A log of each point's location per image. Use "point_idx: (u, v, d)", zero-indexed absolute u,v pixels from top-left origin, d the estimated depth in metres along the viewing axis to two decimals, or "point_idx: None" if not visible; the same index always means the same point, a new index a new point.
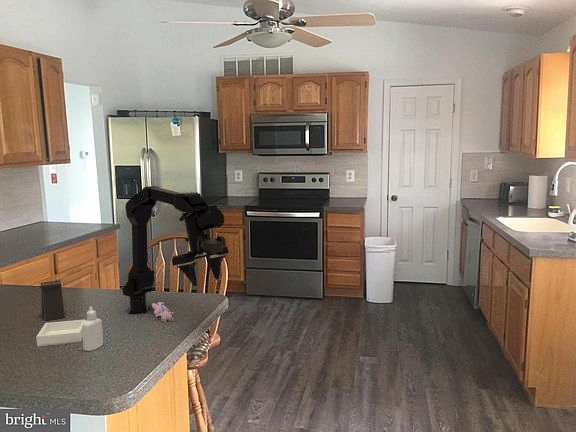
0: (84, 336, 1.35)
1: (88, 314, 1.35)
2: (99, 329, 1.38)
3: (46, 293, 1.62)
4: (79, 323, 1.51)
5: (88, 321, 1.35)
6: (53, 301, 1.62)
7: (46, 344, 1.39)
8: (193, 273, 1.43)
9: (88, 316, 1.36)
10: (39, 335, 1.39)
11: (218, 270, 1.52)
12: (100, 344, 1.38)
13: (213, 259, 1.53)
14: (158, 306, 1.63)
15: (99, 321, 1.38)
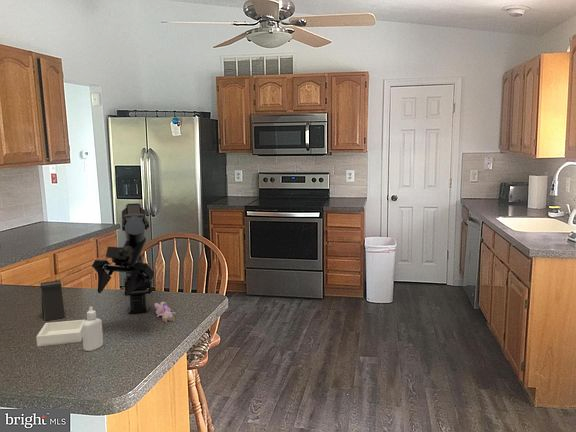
0: (84, 336, 1.35)
1: (88, 314, 1.35)
2: (99, 329, 1.38)
3: (46, 293, 1.62)
4: (79, 323, 1.51)
5: (88, 321, 1.35)
6: (53, 301, 1.62)
7: (46, 344, 1.39)
8: (99, 279, 1.46)
9: (88, 316, 1.36)
10: (39, 335, 1.39)
11: (128, 285, 1.43)
12: (100, 344, 1.38)
13: None
14: (160, 306, 1.64)
15: (99, 321, 1.38)
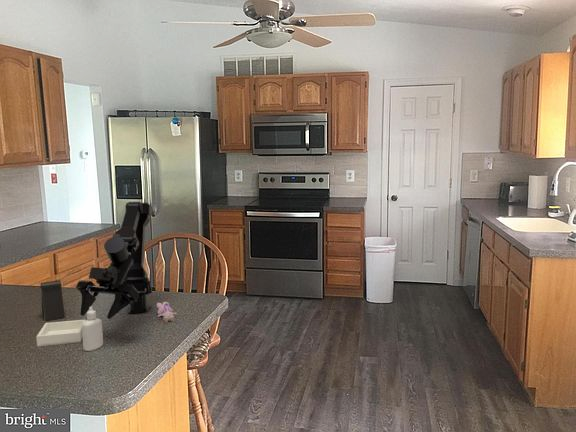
0: (84, 336, 1.35)
1: (88, 314, 1.35)
2: (99, 329, 1.38)
3: (46, 293, 1.62)
4: (79, 323, 1.51)
5: (88, 321, 1.35)
6: (53, 301, 1.62)
7: (46, 344, 1.39)
8: (83, 301, 1.41)
9: (88, 316, 1.36)
10: (39, 335, 1.39)
11: (111, 308, 1.37)
12: (100, 344, 1.38)
13: None
14: (162, 306, 1.64)
15: (99, 321, 1.38)
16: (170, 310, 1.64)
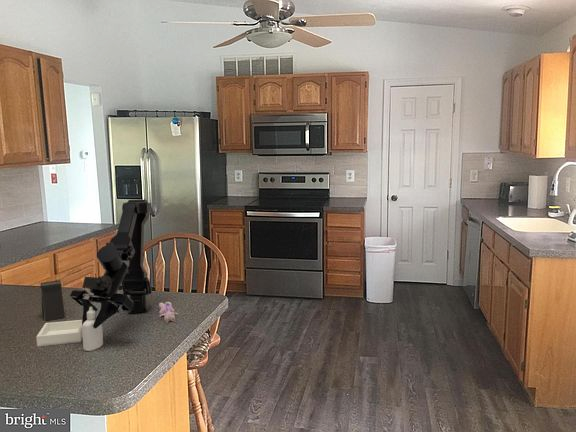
0: (84, 336, 1.35)
1: (88, 314, 1.35)
2: (99, 329, 1.38)
3: (46, 293, 1.62)
4: (79, 323, 1.51)
5: (88, 321, 1.35)
6: (53, 301, 1.62)
7: (46, 344, 1.39)
8: (84, 311, 1.38)
9: (88, 316, 1.36)
10: (39, 335, 1.39)
11: (97, 317, 1.36)
12: (100, 344, 1.38)
13: None
14: (164, 306, 1.64)
15: None
16: (172, 310, 1.64)
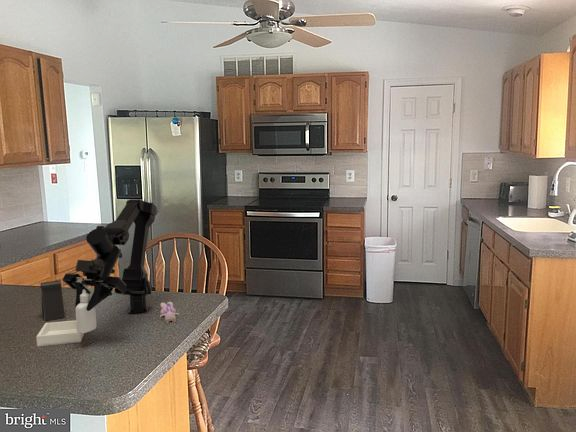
0: (77, 319, 1.36)
1: (81, 297, 1.37)
2: (93, 312, 1.39)
3: (46, 293, 1.62)
4: None
5: (81, 304, 1.37)
6: (53, 301, 1.62)
7: (46, 344, 1.39)
8: (77, 294, 1.39)
9: (81, 299, 1.37)
10: (39, 335, 1.39)
11: (91, 300, 1.37)
12: (93, 326, 1.40)
13: None
14: (165, 306, 1.64)
15: None
16: (173, 310, 1.64)
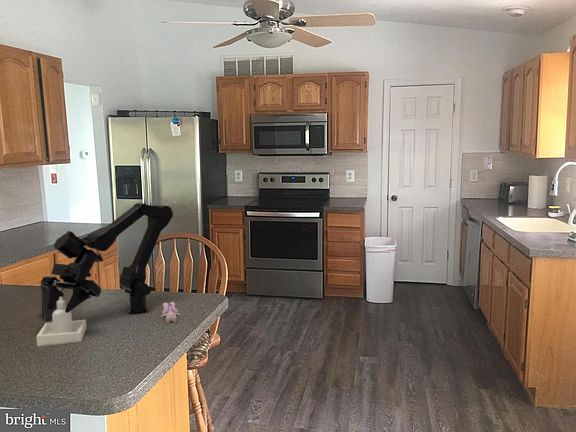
0: (54, 324, 1.43)
1: (58, 303, 1.44)
2: (69, 317, 1.46)
3: (46, 293, 1.62)
4: (79, 323, 1.51)
5: (58, 310, 1.44)
6: None
7: (46, 344, 1.39)
8: (50, 296, 1.46)
9: (58, 305, 1.44)
10: (39, 335, 1.39)
11: (69, 302, 1.43)
12: None
13: None
14: (166, 306, 1.63)
15: None
16: (174, 310, 1.64)
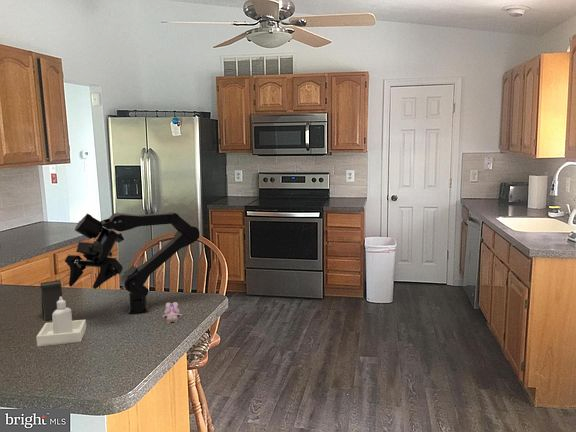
0: (54, 324, 1.43)
1: (58, 303, 1.44)
2: (69, 317, 1.46)
3: (46, 293, 1.62)
4: (79, 323, 1.51)
5: (58, 310, 1.44)
6: (53, 301, 1.62)
7: (46, 344, 1.39)
8: (71, 273, 1.55)
9: (58, 305, 1.44)
10: (39, 335, 1.39)
11: (97, 279, 1.51)
12: None
13: None
14: (168, 306, 1.63)
15: (69, 310, 1.46)
16: (176, 311, 1.63)
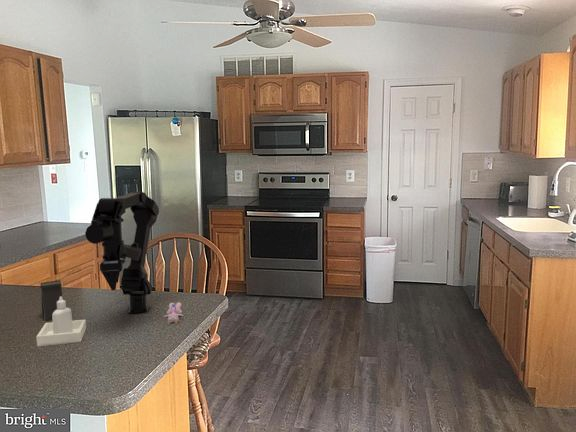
0: (54, 324, 1.43)
1: (58, 303, 1.44)
2: (69, 317, 1.46)
3: (46, 293, 1.62)
4: (79, 323, 1.51)
5: (58, 310, 1.44)
6: (53, 301, 1.62)
7: (46, 344, 1.39)
8: (117, 278, 1.48)
9: (58, 305, 1.44)
10: (39, 335, 1.39)
11: None
12: None
13: None
14: (171, 306, 1.63)
15: (69, 310, 1.46)
16: (179, 311, 1.63)
